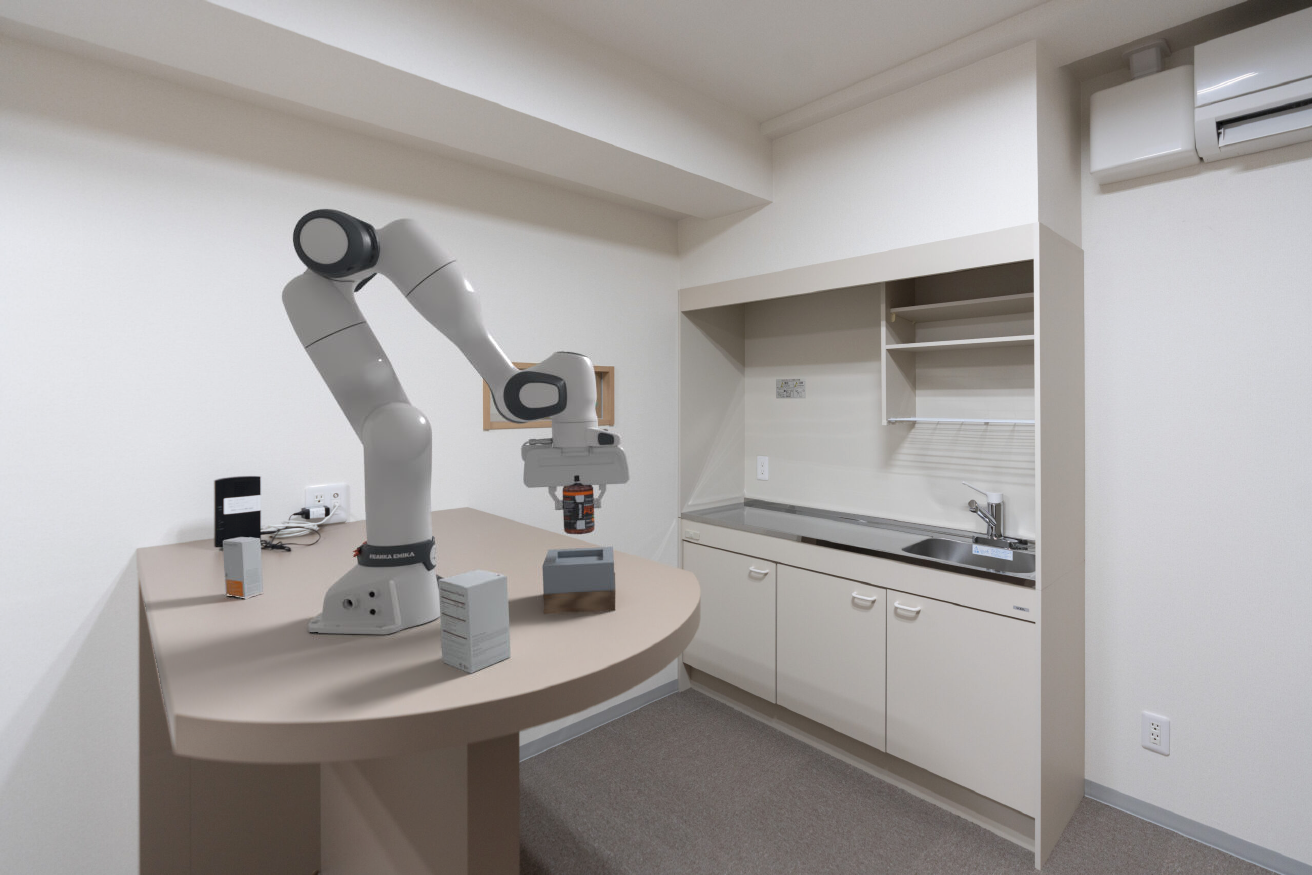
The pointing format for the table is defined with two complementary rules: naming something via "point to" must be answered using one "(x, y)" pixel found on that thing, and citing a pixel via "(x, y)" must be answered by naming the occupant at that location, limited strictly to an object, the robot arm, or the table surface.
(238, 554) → the skincare box
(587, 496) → the supplement bottle
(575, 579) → the slate grey top slab
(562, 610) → the walnut bottom slab
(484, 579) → the supplement box
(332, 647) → the table surface
